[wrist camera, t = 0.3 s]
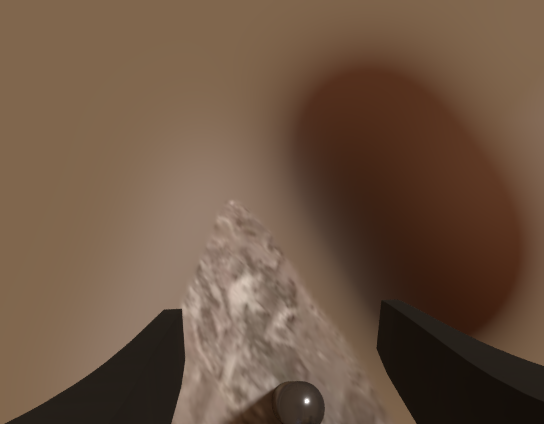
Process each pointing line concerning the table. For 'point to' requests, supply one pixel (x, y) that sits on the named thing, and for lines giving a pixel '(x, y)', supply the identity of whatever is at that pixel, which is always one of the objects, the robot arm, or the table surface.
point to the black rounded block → (298, 403)
